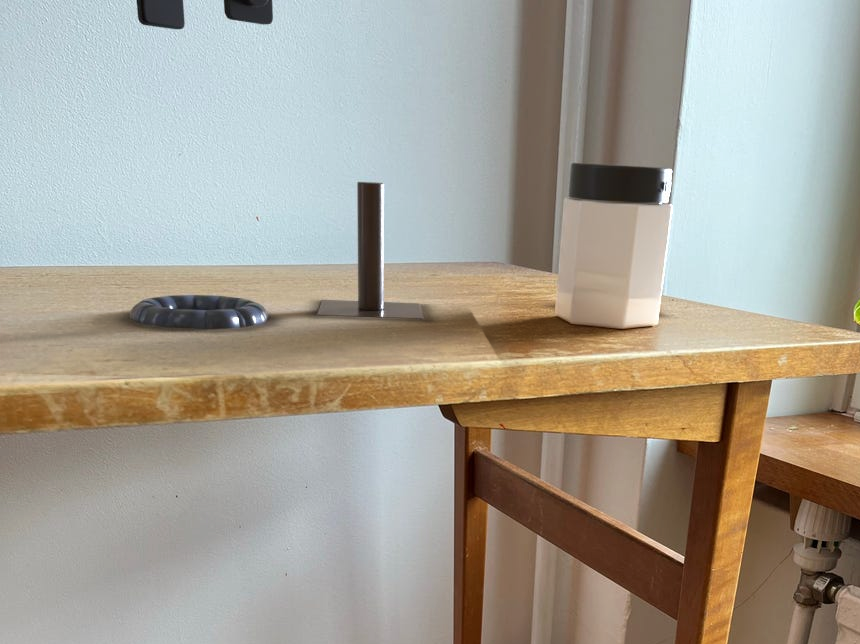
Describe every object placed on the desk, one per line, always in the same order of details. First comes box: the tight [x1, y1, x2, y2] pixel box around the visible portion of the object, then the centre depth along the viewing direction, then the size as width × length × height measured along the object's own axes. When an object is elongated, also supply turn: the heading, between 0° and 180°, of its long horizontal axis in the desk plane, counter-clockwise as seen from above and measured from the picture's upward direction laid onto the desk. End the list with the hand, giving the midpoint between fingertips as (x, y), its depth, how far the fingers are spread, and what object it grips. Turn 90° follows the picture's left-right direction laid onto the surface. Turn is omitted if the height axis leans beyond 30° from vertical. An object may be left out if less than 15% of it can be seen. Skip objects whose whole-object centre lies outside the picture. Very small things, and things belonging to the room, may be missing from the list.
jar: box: [554, 162, 673, 330], centre depth 81 cm, size 9×8×12 cm
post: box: [316, 181, 425, 320], centre depth 75 cm, size 8×8×10 cm
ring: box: [129, 294, 269, 330], centre depth 69 cm, size 9×9×2 cm
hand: (203, 24), depth 63 cm, fingers open, 9 cm apart
